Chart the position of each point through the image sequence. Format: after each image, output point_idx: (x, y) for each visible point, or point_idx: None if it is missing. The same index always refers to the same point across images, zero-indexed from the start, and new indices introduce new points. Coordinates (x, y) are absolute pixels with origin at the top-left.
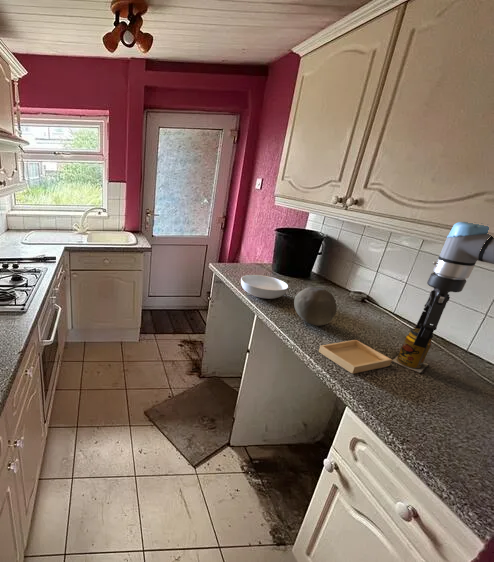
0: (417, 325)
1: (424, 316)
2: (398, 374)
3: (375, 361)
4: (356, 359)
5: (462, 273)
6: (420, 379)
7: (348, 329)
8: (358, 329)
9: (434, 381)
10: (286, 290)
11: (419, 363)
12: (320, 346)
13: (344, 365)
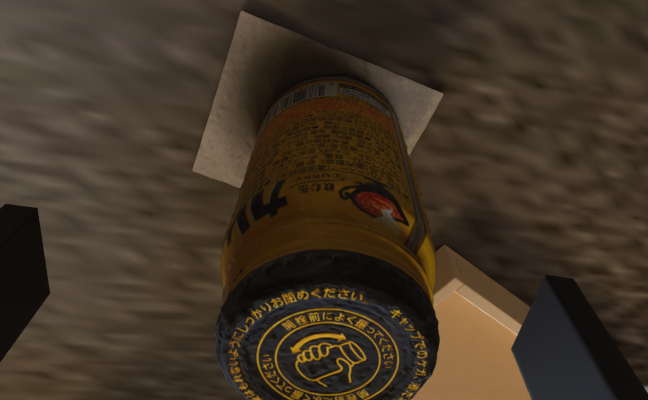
0: (20, 323)
1: None
2: (533, 211)
3: (452, 311)
4: (486, 381)
5: None
6: (534, 100)
7: (70, 391)
8: (10, 351)
9: (515, 12)
10: None
11: (394, 123)
12: None
13: None
